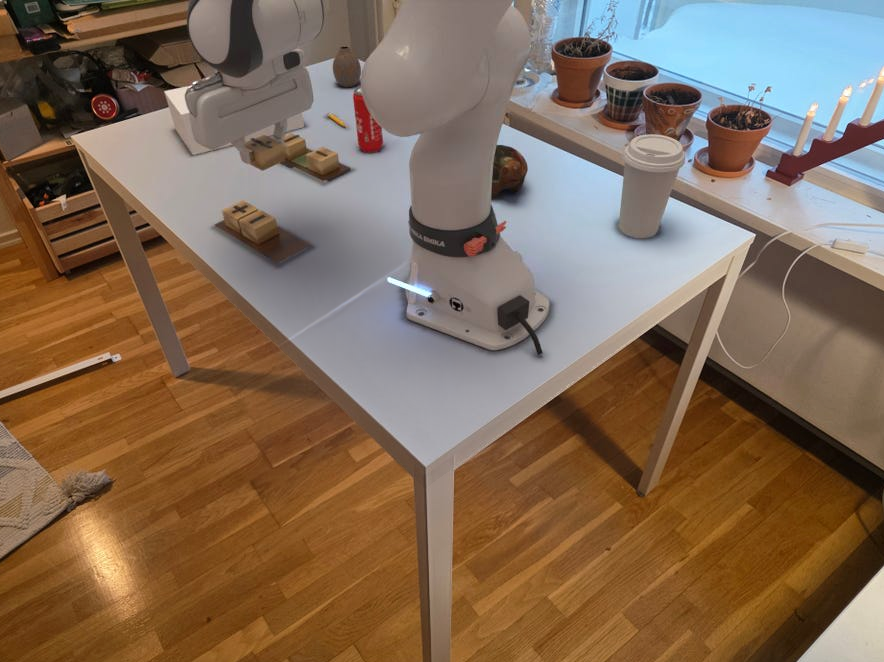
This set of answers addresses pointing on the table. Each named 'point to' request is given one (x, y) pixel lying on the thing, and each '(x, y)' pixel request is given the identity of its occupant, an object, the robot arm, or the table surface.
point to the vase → (346, 67)
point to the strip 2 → (312, 159)
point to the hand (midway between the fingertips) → (264, 154)
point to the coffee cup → (648, 182)
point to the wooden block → (265, 152)
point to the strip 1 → (271, 245)
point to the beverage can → (366, 125)
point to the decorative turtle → (508, 170)
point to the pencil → (336, 119)
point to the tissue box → (184, 125)
